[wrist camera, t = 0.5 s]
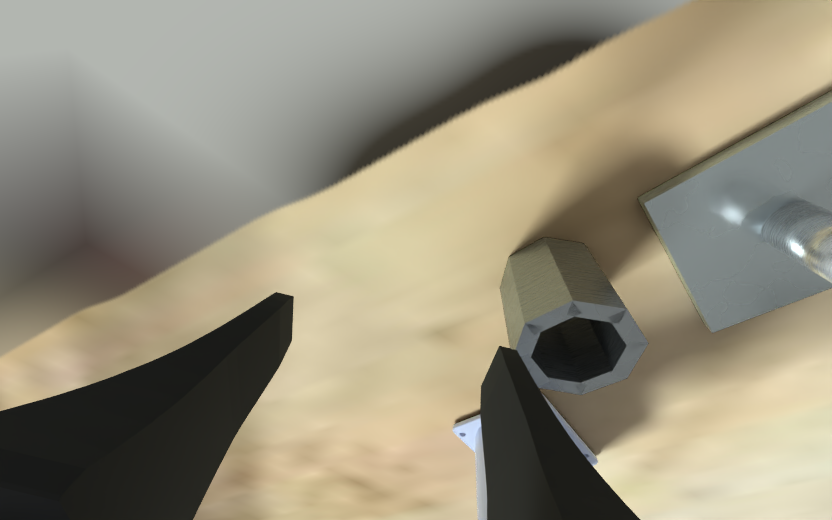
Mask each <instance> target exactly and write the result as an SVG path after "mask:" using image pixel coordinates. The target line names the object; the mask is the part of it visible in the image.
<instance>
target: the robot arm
mask: <svg viewBox="0 0 832 520" xmlns="http://www.w3.org/2000/svg"><path fill="white" fill-rule="evenodd" d="M293 298H294V296H290V295H285V294H281V293H277V292H276V293H274V294H272V295H271V296H269V297H267V298H266V299H264V300H263V301H261V302H260V303H258V304H256V305H255V306H253V307H252V308H250V309H249V310H247V311H245V312H244V313H242V314H241V315H239V316H237V317H236V318H234V319H232V320H231V321H229V322H227V323H226V324H224V325H222V326H221V327H219V328H217V329H215V330H214V331H212V332H210V333H208V334H206V335H204V336H203V337H201V338H199V339H197V340H195V341H193V342H192V343H190V344H188V345H186V346H184V347H182V348H180V349H178V350H176V351H173V352H171V353H169V354H167V355H165V356H162V357H160V358H158V359H156V360H153V361H151V362H149V363H146V364H144V365H141V366H139V367H136V368H134V369H131V370H128V371H126V372H123V373H121V374H118V375H116V376H113V377H111V378H108V379H105V380H102V381H99V382H96V383H93V384H91V385H88V386H85V387H82V388H79V389H75V390H72V391H69V392H66V393H63V394H60V395H56V396H53V397H50V398H47V399H43V400H39V401H36V402H32V403H28V404H25V405H21V406H18V407H14V408H10V409H7V410H3V411H0V520H193V518H194V516H195V514H196V512H197V510H198V508H199V506H200V504H201V502H202V500H203V498H204V496H205V494H206V492H207V490H208V488H209V486H210V484H211V482H212V480H213V478H214V476H215V474H216V472H217V470H218V468H219V466H220V464H221V462H222V460H223V458H224V456H225V454H226V452H227V450H228V448H229V447H230V445H231V443H232V441H233V439H234V437H235V435H236V434H237V432H238V430H239V429H240V427H241V425H242V424H243V422H244V421H245V419H246V418H247V416H248V414H249V413H250V411H251V410H252V408H253V407H254V405H255V404H256V402H257V401H258V399H259V397H260V396H261V394H262V393H263V391H264V390H265V388H266V387H267V385H268V383H269V382H270V380H271V379H272V377H273V376H274V374H275V372H276V371H277V369H278V368H279V366H280V364H281V362H282V360H283V358H284V356H285V354H286V352H287V350H288V347H289V345H290V343H291V341H292V323H293ZM453 432H454V433H455V434H456V435H457V436H458V437H459V438H460V439H461V440H462V441H463V442H464V443H465V444H466V445H468V446H469V447H470V448H471V449H472V450H473V451H474V452H475V459H476V486H477V514H478V520H640V519H639V518H638V517H637V516H636V515H635V514H634V513H633V511H632V510H631V509H630V508H629V507H628V506H627V505H626V504H625V503H624V502H623V501H622V500H621V499H620V497H619V496H618V495H617V494H616V493H615V492H614V491H613V489H612V488H611V487H610V486H609V485H608V484H607V483H606V482H605V480H604V479H603V478H602V477H601V476H600V475H599V473H598V472H597V471H596V470H595V469H594V467H593V466H594V465H596V464H597V463H598V460H597V458H596V456H595V455H594V454H593V452H592V451H591V450H590V449H589V448H588V446H587V445H586V444H585V443H584V442H583V441H582V439H581V438H580V437H579V436H578V435H577V434H576V432H575V431H574V430H573V429H572V428H571V426H570V425H569V424H568V423H567V422H566V421H565V419H564V418H563V417H562V416H561V415H560V414H559V412H558V411H557V410H556V409H555V408H554V406H553V405H552V404H551V403H550V402H549V401H548V399H547V398H546V397H545V396H544V395H543V394H542V393H541V391H540V390H539V388H538V386H537V385H536V383H535V381H534V379H533V378H532V376H531V374H530V372H529V371H528V369H527V367H526V365H525V364H524V362H523V360H522V358H521V357H520V355H519V353H518V351H517V350H514V349H510V348H506V347H502V346H499V348H498V350H497V352H496V355H495V357H494V359H493V361H492V363H491V366H490V368H489V370H488V372H487V374H486V377H485V379H484V381H483V383H482V386H481V408H480V414H479V415H477V416H474V417H472V418H469V419H466V420H464V421H461V422H459V423H456V424H454V425H453Z"/></svg>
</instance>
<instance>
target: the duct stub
mask: <svg viewBox="0 0 832 520" xmlns="http://www.w3.org/2000/svg"><path fill="white" fill-rule="evenodd" d="M638 200H639V202H640V204H641V206H642V208H643V210H644V212H645V213H646V215H647V217H648V219H649V221H650V223H651V225H652V227H653V229H654V230H655V232H656V234H657V236H658V238H659V240H660V242H661V244H662V246H663V247H664V249H665V251H666V253H667V255H668V257H669V259H670V261H671V262H672V264H673V266H674V268H675V270H676V272H677V274H678V276H679V278H680V279H681V281H682V283H683V285H684V287H685V289H686V291H687V293H688V295H689V296H690V298H691V300H692V302H693V304H694V306H695V308H696V310H697V311H698V313H699V315H700V317H701V319H702V321H703V323H704V324H705V326H706V327H707V328H708V329H709V330H710V331H711V332H712V333H714V332H716V331H719V330H722V329H724V328H727V327H730V326H732V325H735V324H737V323H740V322H743V321H745V320H748V319H751V318H753V317H756V316H759V315H761V314H764V313H767V312H769V311H772V310H775V309H777V308H780V307H783V306H785V305H788V304H790V303H793V302H796V301H798V300H801V299H804V298H806V297H809V296H812V295H814V294H817V293H820V292H822V291H825V290H828V289H830V288H832V91H830V92H828V93H826V94H825V95H823V96H821V97H819V98H817V99H816V100H814V101H812V102H810V103H808V104H807V105H805V106H803V107H801V108H799V109H797V110H796V111H794V112H792V113H790V114H788V115H787V116H785V117H783V118H781V119H779V120H778V121H776V122H774V123H772V124H770V125H768V126H767V127H765V128H763V129H761V130H759V131H758V132H756V133H754V134H752V135H750V136H749V137H747V138H745V139H743V140H741V141H739V142H738V143H736V144H734V145H732V146H730V147H729V148H727V149H725V150H723V151H721V152H720V153H718V154H716V155H714V156H712V157H711V158H709V159H707V160H705V161H703V162H701V163H700V164H698V165H696V166H694V167H692V168H691V169H689V170H687V171H685V172H683V173H682V174H680V175H678V176H676V177H674V178H672V179H671V180H669V181H667V182H665V183H663V184H662V185H660V186H658V187H656V188H654V189H653V190H651V191H649V192H647V193H645V194H643V195H642V196H640V197H638Z"/></svg>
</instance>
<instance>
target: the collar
mask: <svg viewBox="0 0 832 520" xmlns="http://www.w3.org/2000/svg"><path fill="white" fill-rule="evenodd" d="M500 291H501V297H502V303H503V309H504V315H505V321H506V327H507V333H508V339H509V345H510V349H514V350H517V351H518V353H519V355H520V357H521V358H522V360H523V362H524V364H525V365H526V367H527V369H528V371H529V372H530V374H531V376H532V378H533V379H534V381H535V383H536V385H537V386H538V388H542V389H548V390H554V391H560V392H566V393H572V394H578V395H583V394H585V393H588V392H591V391H594V390H596V389H599V388H602V387H605V386H608V385H610V384H613V383H616V382H619V381H621V380H624V379H627V378H628V376H629V374H630V373H631V371H632V370H633V368H634V366H635V365H636V363H637V361H638V360H639V358H640V356H641V355H642V353H643V352H644V350H645V348H646V347H647V345H648V342H647V340H646V338H645V337H644V335H643V334H642V332H641V330H640V329H639V327H638V326H637V324H636V322H635V321H634V319H633V318H632V316H631V314H630V313H629V311H628V310H627V308H626V307H625V305H624V304H623V302H622V301H621V299H620V297H619V296H618V294H617V293H616V291H615V290H614V288H613V287H612V285H611V284H610V282H609V281H608V279H607V278H606V276H605V275H604V273H603V272H602V270H601V269H600V267H599V266H598V264H597V263H596V261H595V260H594V258H593V257H592V255H591V253H590V252H589V250H588V249H587V247H586V246H585V244H584V243H579V242H573V241H566V240H559V239H553V238H546V237H543V238H541V239H540V240H538V241H536V242H534V243H533V244H531V245H529V246H527V247H526V248H524V249H522V250H520V251H518V252H517V253H515V254H513V255H511V256H510V257H509V258H508V262H507V265H506V269H505V272H504V276H503V279H502V283H501V286H500Z"/></svg>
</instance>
